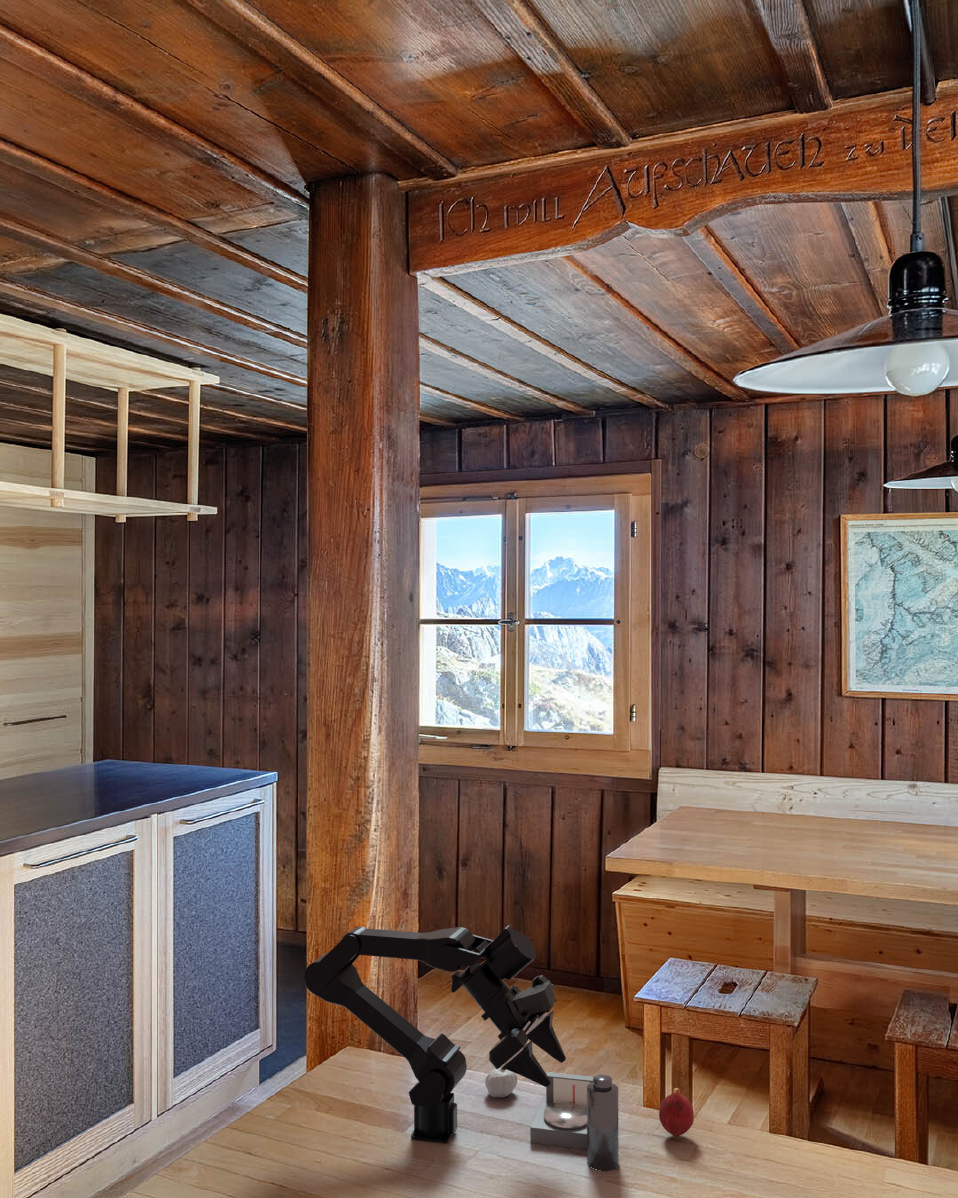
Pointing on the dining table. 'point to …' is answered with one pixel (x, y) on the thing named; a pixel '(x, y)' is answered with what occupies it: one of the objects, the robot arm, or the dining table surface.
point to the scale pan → (566, 1116)
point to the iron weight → (602, 1124)
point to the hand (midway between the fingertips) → (556, 1073)
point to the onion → (676, 1113)
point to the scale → (561, 1091)
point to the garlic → (501, 1082)
